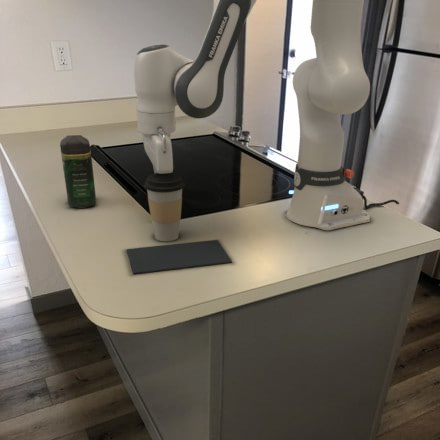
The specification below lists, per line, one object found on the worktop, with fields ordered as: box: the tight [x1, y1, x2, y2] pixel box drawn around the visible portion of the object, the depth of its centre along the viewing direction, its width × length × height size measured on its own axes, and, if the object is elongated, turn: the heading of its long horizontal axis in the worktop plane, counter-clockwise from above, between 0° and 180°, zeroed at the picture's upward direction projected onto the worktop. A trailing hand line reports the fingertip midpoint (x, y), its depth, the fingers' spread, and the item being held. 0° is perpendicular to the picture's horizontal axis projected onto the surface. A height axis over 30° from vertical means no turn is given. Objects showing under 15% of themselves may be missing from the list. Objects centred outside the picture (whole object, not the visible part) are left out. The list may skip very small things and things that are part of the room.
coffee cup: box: [143, 172, 185, 242], centre depth 117 cm, size 9×9×15 cm
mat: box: [126, 239, 233, 275], centre depth 111 cm, size 22×12×1 cm, turn 106°
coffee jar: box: [59, 134, 97, 209], centre depth 135 cm, size 10×8×19 cm
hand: (159, 181), depth 120 cm, fingers closed
